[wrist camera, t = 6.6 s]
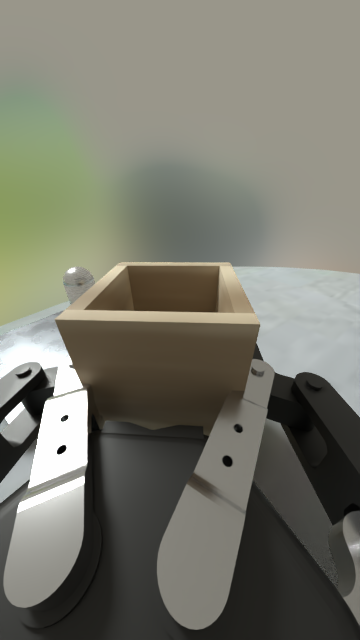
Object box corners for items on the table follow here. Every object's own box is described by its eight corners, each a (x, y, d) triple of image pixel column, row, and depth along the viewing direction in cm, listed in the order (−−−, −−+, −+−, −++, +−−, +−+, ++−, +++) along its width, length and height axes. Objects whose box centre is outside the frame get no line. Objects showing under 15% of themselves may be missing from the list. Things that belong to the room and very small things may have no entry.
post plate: (127, 295, 31) (118, 242, 27) (189, 320, 25) (189, 255, 20) (-23, 359, 19) (-80, 282, 15) (20, 439, 13) (-59, 343, 9)
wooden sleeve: (141, 384, 16) (119, 262, 11) (215, 388, 16) (230, 262, 11) (116, 470, 11) (54, 319, 6) (224, 478, 11) (260, 324, 6)
